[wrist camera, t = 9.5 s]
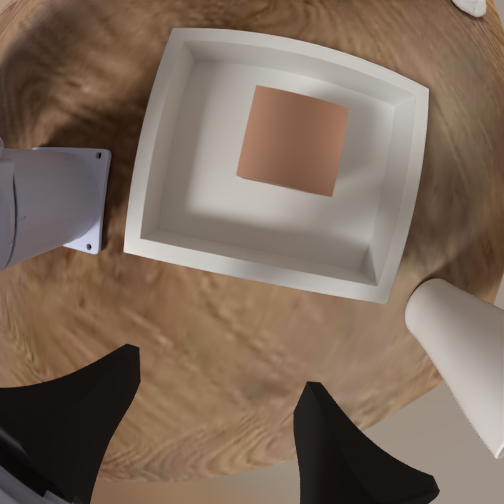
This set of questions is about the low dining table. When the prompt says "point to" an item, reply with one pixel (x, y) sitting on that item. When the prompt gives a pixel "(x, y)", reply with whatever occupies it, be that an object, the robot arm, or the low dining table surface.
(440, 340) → the drinking glass
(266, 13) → the low dining table surface
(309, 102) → the copper brown block
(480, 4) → the dumpling
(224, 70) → the bin
